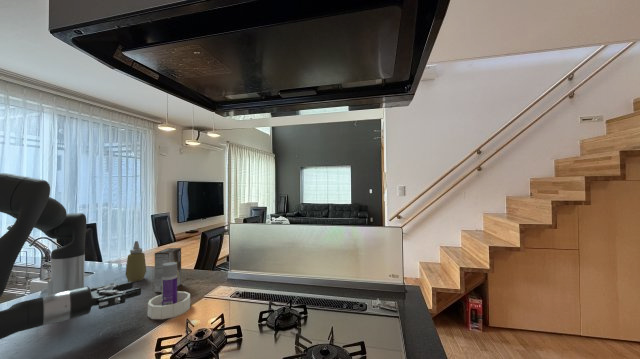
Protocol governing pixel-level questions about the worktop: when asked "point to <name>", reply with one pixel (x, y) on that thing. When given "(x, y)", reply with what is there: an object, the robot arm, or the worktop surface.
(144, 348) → the worktop surface
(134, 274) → the squeeze bottle
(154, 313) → the bowl
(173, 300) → the container
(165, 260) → the coffee box
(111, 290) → the robot arm
